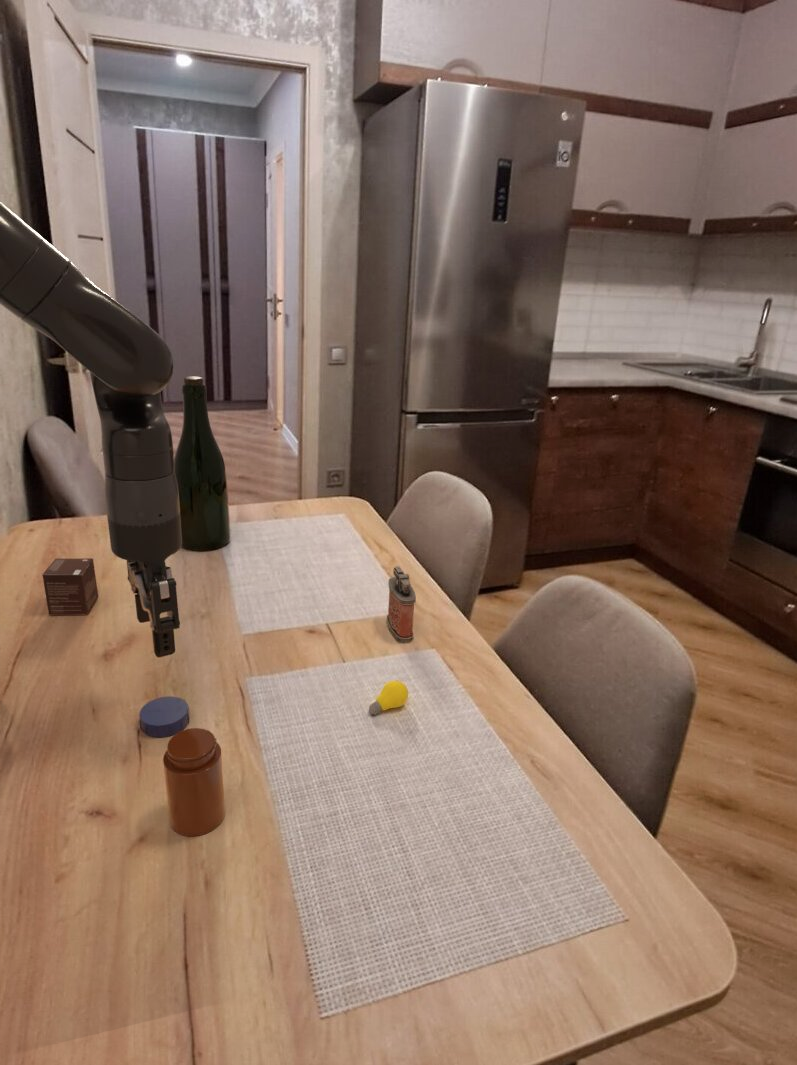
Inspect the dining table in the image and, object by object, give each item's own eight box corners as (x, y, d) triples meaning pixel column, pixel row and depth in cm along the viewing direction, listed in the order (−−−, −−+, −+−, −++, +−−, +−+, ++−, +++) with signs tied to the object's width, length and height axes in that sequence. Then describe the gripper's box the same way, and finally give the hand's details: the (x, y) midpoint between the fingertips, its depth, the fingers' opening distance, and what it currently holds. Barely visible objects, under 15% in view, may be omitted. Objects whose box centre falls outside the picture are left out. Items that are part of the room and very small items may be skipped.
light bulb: (412, 702, 89) (413, 688, 87) (377, 728, 87) (377, 714, 84) (396, 684, 91) (397, 670, 89) (362, 709, 89) (361, 696, 86)
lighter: (417, 641, 104) (421, 584, 100) (396, 644, 103) (399, 586, 99) (402, 616, 111) (405, 562, 107) (382, 618, 110) (385, 563, 106)
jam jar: (169, 841, 67) (160, 766, 63) (170, 800, 72) (162, 728, 68) (226, 830, 68) (221, 757, 65) (223, 791, 73) (219, 721, 70)
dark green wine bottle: (168, 539, 135) (153, 374, 123) (215, 528, 142) (205, 370, 129) (192, 556, 128) (179, 383, 116) (240, 544, 135) (233, 379, 122)
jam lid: (198, 712, 85) (197, 701, 85) (173, 741, 80) (172, 729, 79) (158, 704, 87) (156, 692, 86) (130, 732, 81) (129, 720, 81)
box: (61, 597, 111) (55, 557, 108) (99, 597, 112) (94, 557, 109) (48, 616, 105) (40, 574, 103) (87, 615, 106) (81, 574, 103)
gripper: (197, 527, 70) (205, 658, 76) (162, 486, 81) (171, 603, 87) (121, 539, 66) (136, 676, 72) (95, 494, 77) (110, 616, 83)
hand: (155, 636), depth 80 cm, fingers open, 8 cm apart
